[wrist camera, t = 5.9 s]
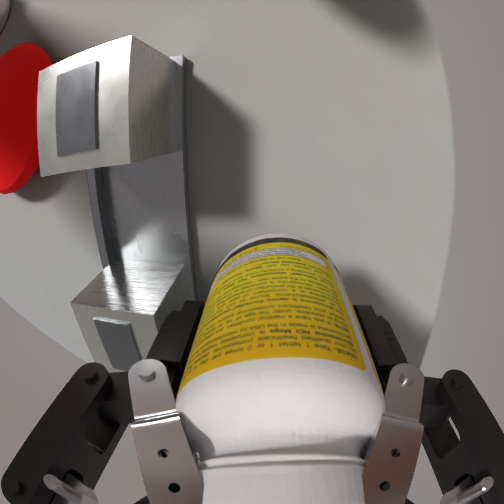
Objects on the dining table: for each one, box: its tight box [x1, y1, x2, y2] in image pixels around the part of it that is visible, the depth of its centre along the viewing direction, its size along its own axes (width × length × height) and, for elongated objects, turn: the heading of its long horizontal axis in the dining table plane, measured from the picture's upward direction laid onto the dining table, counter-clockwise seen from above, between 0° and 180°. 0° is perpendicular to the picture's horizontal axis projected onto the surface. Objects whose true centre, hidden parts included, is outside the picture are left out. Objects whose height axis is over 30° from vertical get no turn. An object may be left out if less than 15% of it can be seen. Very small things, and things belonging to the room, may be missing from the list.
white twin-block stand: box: [37, 35, 197, 373], centre depth 18 cm, size 24×8×8 cm, turn 0°
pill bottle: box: [175, 233, 386, 504], centre depth 9 cm, size 6×6×11 cm
